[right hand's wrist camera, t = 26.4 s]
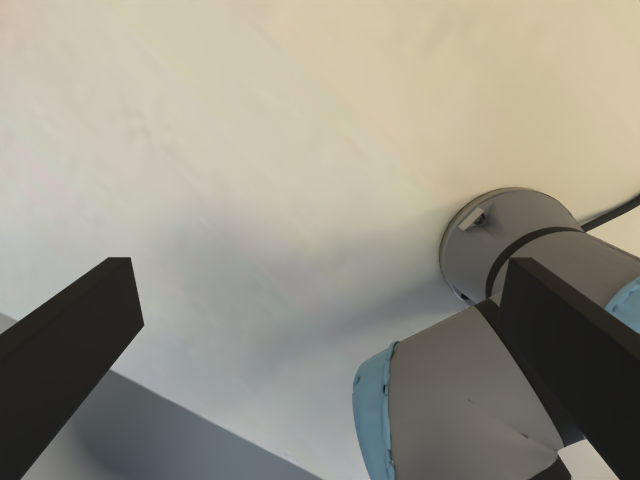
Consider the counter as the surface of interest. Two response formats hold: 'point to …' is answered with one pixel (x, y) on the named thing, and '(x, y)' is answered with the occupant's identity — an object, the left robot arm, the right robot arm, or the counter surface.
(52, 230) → the counter surface
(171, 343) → the counter surface
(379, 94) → the counter surface
